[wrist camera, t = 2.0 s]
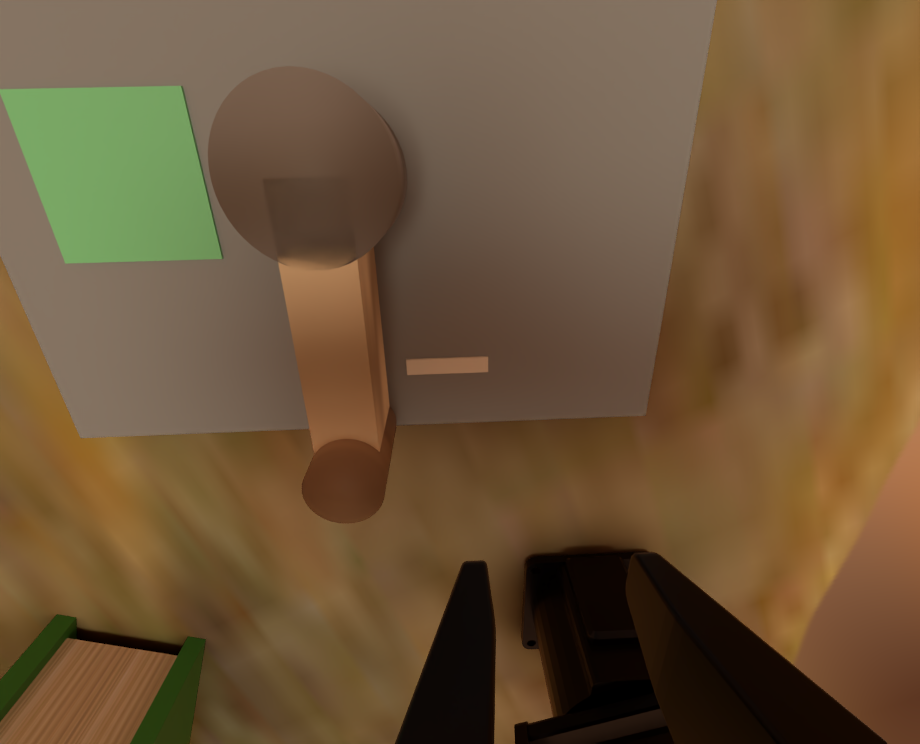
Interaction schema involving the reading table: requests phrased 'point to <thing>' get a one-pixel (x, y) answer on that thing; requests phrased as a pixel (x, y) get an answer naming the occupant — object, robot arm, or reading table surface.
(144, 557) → the reading table surface
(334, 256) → the lever
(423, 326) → the dial plate
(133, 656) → the hardback book
